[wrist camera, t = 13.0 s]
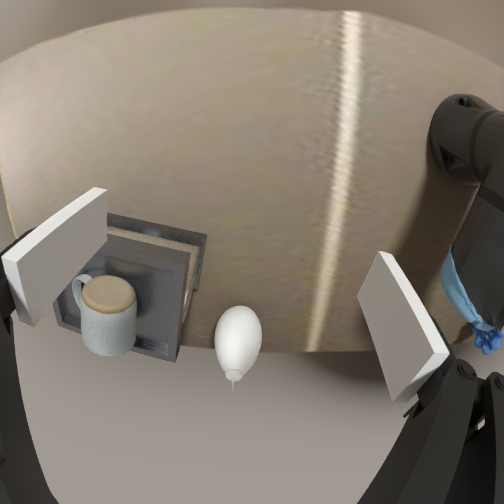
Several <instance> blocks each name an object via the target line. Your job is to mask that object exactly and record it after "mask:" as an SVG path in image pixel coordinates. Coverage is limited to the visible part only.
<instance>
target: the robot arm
mask: <svg viewBox="0 0 504 504" xmlns="http://www.w3.org/2000/svg"><path fill="white" fill-rule="evenodd" d="M430 142H431V149H432V153H433V156H434V158H435V161H436V163H437V165H438V166H439V168H440V169H441V170H442V172H443V173H444V174H445V175H447V176H448V177H449V178H451V179H453V180H454V181H456V182H458V183H460V184H463V185H468V186H480V187H479V190H478V192H477V194H476V196H475V199H474V201H473V203H472V206H471V208H470V210H469V212H468V214H467V216H466V218H465V221H464V223H463V225H462V227H461V229H460V231H459V233H458V234H457V236H456V238H455V240H454V242H453V243H452V244H451V245H450V248H449V253H448V255H447V257H446V259H445V261H444V263H443V265H442V268H441V273H440V274H441V283H442V286H443V289H444V291H445V293H446V295H447V297H448V298H449V300H450V302H451V303H452V304H453V306H454V307H455V308H456V310H457V311H458V312H459V313H460V314H461V315H462V316H463V317H464V318H465V319H466V320H467V321H468V322H469V323H473V324H474V326H475V327H476V328H478V329H480V330H482V331H490V330H491V329H494V328H495V327H497V328H498V330H499V331H500V332H501V333H503V334H504V112H502V111H498V110H497V109H495V108H494V107H493V106H491V105H490V104H488V103H487V102H486V101H484V100H483V99H481V98H479V97H477V96H474V95H468V94H455V95H452V96H450V97H448V98H447V99H445V100H444V101H443V102H442V103H441V104H440V105H439V107H438V108H437V110H436V112H435V114H434V116H433V119H432V123H431V129H430ZM107 191H108V190H106V189H101V188H96V187H94V188H92V189H91V190H89V191H88V192H86V193H85V194H83V195H82V196H80V197H79V198H77V199H76V200H74V201H73V202H71V203H70V204H69V205H67V206H66V207H64V208H63V209H61V210H60V211H59V212H57V213H56V214H54V215H53V216H52V217H50V218H49V219H48V220H46V221H45V222H44V223H42V224H41V225H40V226H38V227H36V228H33V229H31V230H29V231H27V232H25V233H24V234H23V235H22V236H20V237H19V239H17V240H15V241H14V242H13V244H10V245H9V246H8V247H7V248H6V249H4V250H3V251H2V252H1V253H0V504H59V503H58V502H57V500H56V499H55V498H54V496H53V495H52V493H51V492H50V490H49V487H48V485H47V483H46V480H45V477H44V475H43V472H42V469H41V467H40V463H39V460H38V457H37V454H36V451H35V448H34V444H33V441H32V437H31V434H30V430H29V426H28V422H27V418H26V414H25V409H24V405H23V400H22V395H21V389H20V384H19V377H18V370H17V363H16V355H15V345H14V334H13V321H12V318H11V315H10V314H11V313H12V312H13V311H14V310H15V308H16V311H17V314H18V317H19V320H20V321H22V322H24V323H26V324H28V325H30V326H33V327H35V325H36V324H37V323H38V321H39V320H40V319H41V317H42V316H43V315H44V314H45V312H46V311H47V310H48V308H49V307H50V306H51V305H52V303H53V302H54V301H55V300H56V298H57V297H58V296H59V295H60V294H61V292H62V291H63V290H64V289H65V288H66V286H67V285H68V284H69V283H70V282H71V280H72V279H73V278H74V277H75V276H76V275H77V273H78V272H79V271H80V270H81V269H82V268H83V267H84V265H85V264H86V263H87V262H88V261H89V260H90V259H91V258H92V256H93V255H94V254H95V253H96V252H97V251H98V250H99V249H100V248H101V247H102V246H103V244H104V243H105V242H106V241H107ZM357 297H358V300H359V303H360V306H361V308H362V311H363V314H364V317H365V319H366V322H367V325H368V328H369V331H370V334H371V337H372V340H373V343H374V346H375V349H376V352H377V354H378V358H379V361H380V364H381V367H382V371H383V374H384V377H385V380H386V384H387V387H388V390H389V394H390V397H391V401H392V402H408V401H409V400H410V399H411V398H412V397H413V396H414V395H415V394H416V393H417V395H418V398H419V400H418V402H416V403H415V405H413V406H412V407H411V409H409V410H408V411H407V412H406V414H405V415H404V416H403V417H404V418H405V417H406V416H407V415H409V414H410V415H409V417H408V419H407V421H406V423H405V425H404V427H403V429H402V431H401V433H400V435H399V436H398V438H397V440H396V442H395V444H394V446H393V448H392V449H391V451H390V453H389V455H388V456H387V458H386V460H385V461H384V463H383V465H382V466H381V468H380V470H379V471H378V473H377V475H376V476H375V478H374V479H373V481H372V482H371V484H370V485H369V487H368V489H367V490H366V491H365V493H364V494H363V496H362V497H361V499H360V500H359V502H358V503H357V504H504V376H503V375H501V374H499V373H498V372H492V373H491V374H490V375H489V377H487V379H486V380H484V379H481V378H478V377H477V374H476V372H475V370H474V369H473V367H472V366H471V365H470V364H469V363H467V362H466V361H464V360H462V359H456V357H455V355H454V353H453V351H452V349H451V348H450V346H449V344H448V342H447V340H446V338H445V337H444V335H443V333H442V331H441V330H440V327H439V326H438V324H437V322H436V320H435V319H434V318H433V317H432V316H431V315H430V314H429V313H428V312H427V311H426V309H425V307H424V306H423V304H422V302H421V300H420V299H419V297H418V295H417V294H416V292H415V290H414V289H413V287H412V286H411V284H410V282H409V281H408V279H407V278H406V276H405V274H404V273H403V271H402V270H401V268H400V267H399V265H398V264H397V262H396V260H395V259H394V257H393V256H392V254H389V253H385V252H381V251H378V253H377V255H376V257H375V259H374V262H373V264H372V266H371V268H370V270H369V272H368V274H367V277H366V279H365V281H364V283H363V285H362V287H361V289H360V291H359V293H358V295H357ZM483 419H485V424H484V426H483V427H482V428H480V429H479V430H478V424H479V423H480V422H481V421H482V420H483Z"/></svg>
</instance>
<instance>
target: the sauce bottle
mask: <svg viewBox="0 0 504 504" xmlns="http://www.w3.org/2000/svg"><path fill="white" fill-rule="evenodd" d="M261 340H262V331H261V325H260V322H259V319H258V317H257V316H256V314H255V313H254V312H253V311H252V310H251V309H250V308H249V307H246V306H234V307H231V308H230V309H228V310H227V311H225V312H224V313H223V314H222V316H221V317H220V319H219V321H218V323H217V326H216V330H215V337H214V342H215V351H216V355H217V359H218V361H219V364H220V366H221V368H222V369H223V371H224V372H225V376H226V378H227V379H228V380H230V381H232V382H231V391H233V388H234V383H235V381H239V380H241V379H242V377H243V375H244V374H245V373H246V372H247V371H248V370H249V369H250V368H251V367H252V365H253V364H254V362H255V360H256V358H257V356H258V353H259V350H260V347H261Z"/></svg>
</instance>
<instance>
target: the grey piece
mask: <svg viewBox="0 0 504 504" xmlns="http://www.w3.org/2000/svg"><path fill="white" fill-rule="evenodd" d="M206 238H207V235H206V234H201V233H197V232H192V231H188V230H183V229H179V228H174V227H169V226H165V225H160V224H156V223H151V222H147V221H142V220H138V219H133V218H128V217H124V216H119V215H115V214H110V213H107V241H106V242H105V243H104V244H103V246H102V247H101V248H100V249H99V250H98V251H97V252H96V253H95V254H94V255H93V256H92V258H91V259H90V260H89V261H88V262H87V263H86V264H85V265H84V267H83V268H82V269H81V270H80V271H79V272H78V273H77V275H76V276H75V277H74V278H73V279H72V280H71V282H70V283H69V284H68V285H67V286H66V288H65V289H64V290H63V291H62V292H61V294H60V295H59V296H58V297H57V298H56V300H55V301H54V302H53V307H54V311H55V315H56V319H57V323H58V325H59V326H62V327H64V328H66V329H69V330H72V331H74V332H77V333H80V334H82V332H81V310H80V308H79V307H78V305H77V303H76V301H75V298H74V295H73V290H72V283H73V280H74V279H75V278H76V277H77V276H79V275H82V274H87V275H89V276H91V277H92V278H95V277H98V276H103V275H110V276H116V277H119V278H122V279H124V280H125V281H127V282H128V283H129V284H130V285H131V286H132V287H133V288H134V290H135V293H136V299H137V314H136V341H135V343H134V345H133V347H132V348H131V351H134V352H138V353H141V354H145V355H148V356H152V357H155V358H159V359H163V360H167V361H171V362H176V359H177V356H178V352H179V349H180V338H181V328H182V325H183V323H184V321H185V318H186V315H187V312H188V308H189V305H190V301H191V297H192V293H193V289H198V286H199V280H200V274H201V268H202V262H203V256H204V250H205V244H206ZM84 285H85V284H84V283H83V282H82V286H81V289H83V287H84Z"/></svg>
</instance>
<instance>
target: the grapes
mask: <svg viewBox="0 0 504 504" xmlns="http://www.w3.org/2000/svg"><path fill="white" fill-rule="evenodd" d="M472 331H473V334H474V335H476V338H475V346H476V347H477V348H478V349H479V348H482V352H483V353H484V354H486V355H487V354H489V353H490V351H491V349H492V350H494V351H496V350H498V349H499V347H500V344H501V339H500V338H503V337H504V334H503V333H501V332H500V331H499V330H498V328H497V327H495V328H494V329H491V330H490V331H482V330H480V329H478V328H476V327H475V326H474V325H473V328H472Z"/></svg>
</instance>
